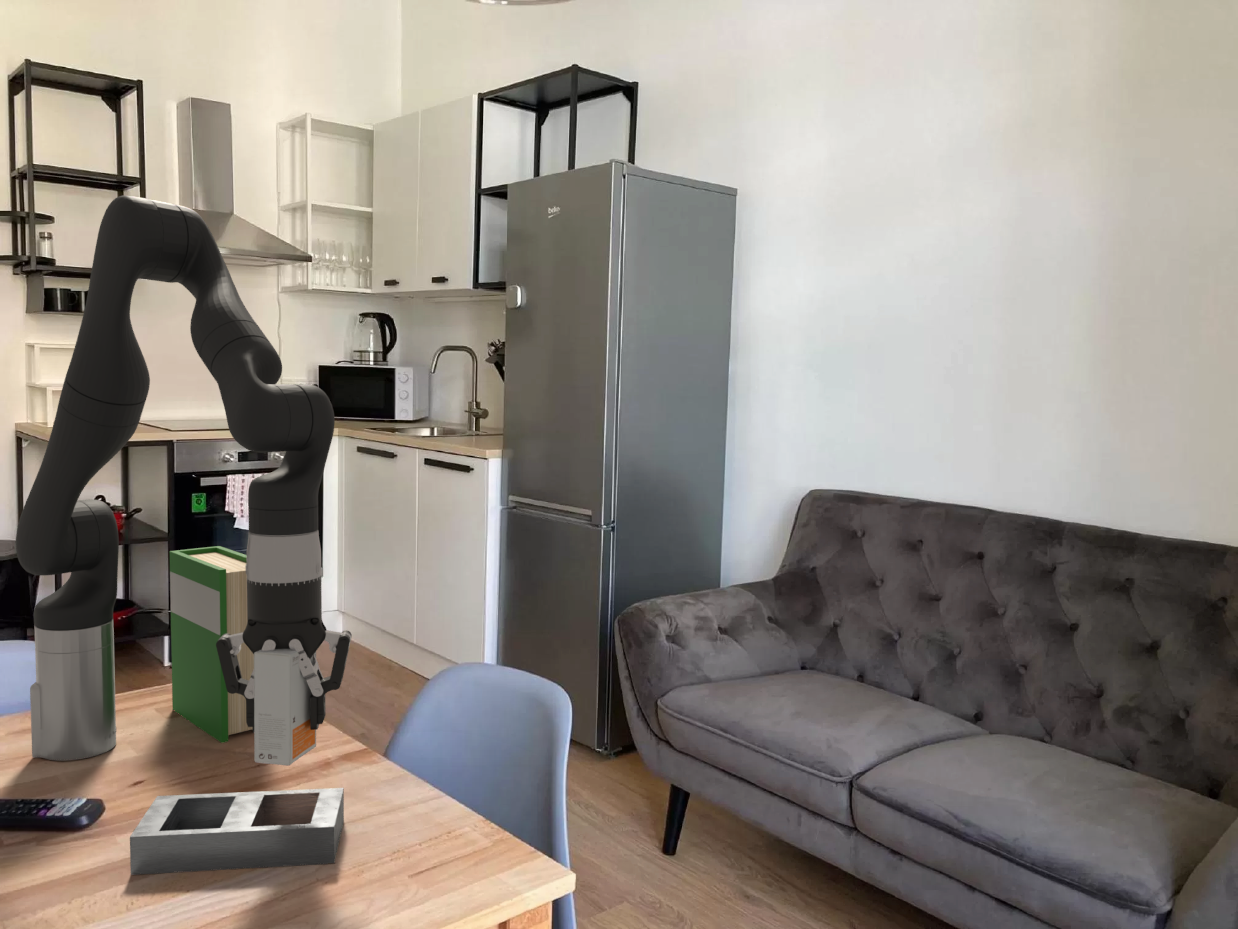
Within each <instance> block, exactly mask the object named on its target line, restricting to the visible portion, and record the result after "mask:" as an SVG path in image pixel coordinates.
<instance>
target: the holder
mask: <svg viewBox="0 0 1238 929" xmlns="http://www.w3.org/2000/svg"><path fill="white" fill-rule="evenodd" d="M344 791H345V790H344V787H333V788H330V787H329V788H314V789H313V788H311V789H310V788H307V789H289V790H288V789H287V790H266V791H265V790H262V791H243V792H241V791H240V792H222V793H221V792H218V793H216V792H215V793H197V794H196V793H195V794H194V793H193V794H178V795H177V794H176V795H175V794H173V795H171V794H170V795H169V794H168V795H157V796H156V797H155V799H154V800H153V801H152V803H151V805H150V806H149V808H148V809H147V811H146V812H145V813H144V815H143V817H142V818H141V819H140V821H139V823H138V824H136V827H135V829H134V830H133V831H132V833H131V834H130V836H129V850H130V851H129V856H130V858H129V859H130V860H129V861H130V862H129V864H130V875H131V876H132V875H136V876H137V875H149V874H150V875H151V874H152V875H154V874H170V873H173V874H174V873H187V872H191V873H192V872H207V871H208V872H209V871H221V870H222V871H226V870H241V869H245V870H246V869H256V868H257V869H261V868H277V867H280V868H281V867H294V866H295V867H296V866H299V867H300V866H315V865H329V864H328V863H334V864H335V861H336V856H337V854H338V849H339V844H340V839H341V836H342V831H343V827H344V823H345V815H344V812H345V809H344V808H345V806H344V805H345V802H344V800H345V799H344V797H345V796H344V795H345V793H344ZM336 853H337V854H336Z"/></svg>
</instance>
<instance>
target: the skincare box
mask: <svg viewBox="0 0 1238 929" xmlns="http://www.w3.org/2000/svg"><path fill="white" fill-rule="evenodd" d="M314 656H315V657H316V658H317V651H316V652H315V653H314ZM310 661H311V663H312V662H313V656H312V657H311V659H310ZM305 667H307V666H305ZM311 694H312V692H311V690H310V688H309V685H308V683H307V681H306V679H305V678H304V677H303V675H302V673H301V670H300V668H299V654H298V652H297V651H291V649H275V650H274V651H265V652H261V650H259V651H257V652H255V653H254V732H253V734H254V736H253V737H254V738H253V739H254V740H253V741H254V743H253V744H254V747H253V749H254V752H253V753H254V755H253V756H254V759H253V760H254V762H255V763H256V764H257V763H259V764H267V765H268V764H269V765H277V766H288V767H289V766H291V765H292V764H293V763H295V762H296V761H297V760H299V759H300V758H302V757H303V756H304V755H306V754H307V753H309V752H310V751H312V750H313V749H315V748H317V730H311V729H310V696H311Z"/></svg>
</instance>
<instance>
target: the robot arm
mask: <svg viewBox="0 0 1238 929" xmlns="http://www.w3.org/2000/svg"><path fill="white" fill-rule="evenodd" d="M89 277H90V278H89V284H88V290H87V296H86V301H85V306H84V310H83V315H82V320H81V323H80V326H79V332H78V334H77V339H76V341H75V345H74V349H73V353H72V355H71V359H70V362H69V366H68V369H67V371H66V374H65V376H64V377H65V378H64V381H63V385H62V388H61V392H60V395H59V396H60V397H59V400H58V404H57V408H56V412H55V417H54V421H53V424H52V428H51V432H50V436H49V438H48V442H47V446H46V450H45V453H44V455H43V458H42V462H41V464H40V466H39V469H38V471H37V474H36V477H35V478H34V479H35V480H34V482H33V484H32V486H31V488H30V492H29V494H28V496H27V499H26V501H25V503H24V506H23V508H22V511H21V513H20V514H21V515H20V517H19V520H18V523H17V524H18V525H17V528H16V536H15V550H16V555H17V560H18V562H19V564H20V566H21V567H22V568H23V569H24V570H25V572H26V573H29V574H31V575H33V576H54V575H62V574H67V573H70V576H69V578H68V580H67V581H66V582H65V583H64V584H63V585H61V587H60V588H59V589H57V590H56V591H54V592H52V593H51V594H49V595H48V596H46V597H44V598H42V599H41V600H39V601H38V602H37V603H36V604H35V607H34V609H33V610H34V611H33V624H34V625H33V626H34V648H35V649H34V650H35V651H34V653H35V654H34V655H35V656H34V657H35V682H34V683H33V684H32V685H30V688H29V693H30V695H29V698H30V727H31V730H30V732H31V758H43V759H45V760H51V761H62V762H63V761H75V760H81V759H82V760H83V759H86V758H92V757H96V756H99V755H102V754H104V753H107V752H109V751H110V750H112V749H113V748H115V746H116V745H117V723H116V722H117V717H116V716H117V715H116V712H117V711H116V679H115V677H116V675H115V673H116V672H115V670H116V669H115V639H114V638H115V635H114V634H115V632H114V609H115V608H114V607H115V604H116V601H117V596H118V575H119V574H118V573H119V551H120V550H119V543H120V541H119V540H120V539H119V530H118V523H117V519H116V516H115V514H114V512H113V510H112V509H111V507H110V506H109V505H108V504H107V503H106V502H104V501H102V500H99V499H82V500H81V499H80V496H81V494H82V492H84V489H85V488H86V486H87V484H88V483H89V482H90V481H91V480H92V479H93V477H95V475H96V474H97V473H98V472H99V471H100V470H101V469H103V468H104V467H105V466H106V464H108V463H109V462H110V461H111V460H112V459H113V458H114V457H115V456H116V455H117V454H118V453H119V452H120V451H121V450H122V448H124V447H125V446H126V444H127V443H128V442H129V441H130V439H132V436H133V435H134V434H135V432H136V431H137V429H138V427H139V426H138V425H139V423H140V420H141V417H142V415H143V411H144V407H145V404H146V401H147V398H148V395H149V391H150V384H151V379H150V371H149V368H148V365H147V362H146V359H145V357H144V355H143V352H142V350H141V346H140V344H139V342H138V339H137V337H136V335H135V332H134V329H133V324H132V321H131V314H130V313H131V303H132V297H133V294H134V293H133V292H134V289H135V285H136V283H137V281H138V279H141V280H148V281H157V282H163V283H171V284H172V283H174V284H175V283H179V284H180V285H182V286H183V287H184V288H185V289H186V290H187V291H188V292H189V293H191V295H192V296H193V297H194V299H195V303H194V306H193V307H194V308H193V310H192V314H191V318H190V326H189V327H190V336H191V341H192V344H193V348H194V349H195V351H196V353H197V354H198V357H199V358H200V359H201V361H202V362H203V364H204V365H205V367H206V369H207V370H208V371H209V373H210V375H211V376H212V378H213V379H214V381H215V382H216V383H217V386H218V389H219V393H220V397H221V400H222V404H223V408H224V411H225V417H226V422H227V427H228V430H229V434H231V436H232V438H233V439H234V440H235V442H237V443H238V444H239V445H240V446H242V448H244V449H247V450H248V451H251V452H252V453H274V452H275V453H277V452H280V453H281V452H285V453H284V456H283V459H282V461H281V463H280V465H279V467H278V468H276V469H275V470H273V471H272V472H269V473H266V474H265V473H264V474H263V475H262V474H261V475H259V476H257V477H256V478H254V479H253V480H252V481H251V482H250V484H249V486H248V491H247V494H248V496H247V507H248V509H247V510H248V536H247V538H248V539H247V545H246V546H247V547H246V555H247V557H246V560H247V563H246V575H247V626H246V628H245V630H244V632H242V633H238V634H233V635H230V634H228V633H226V634H223V635H222V636H221V637H220V638H219V640H218V641H217V643H216V648H217V652H218V656H219V660H220V664H221V668H222V672H223V677H224V681H225V685H226V689H227V691H228V692H229V693H231V694H234V693H238V694H241V695H243V696H244V697H245V699H246V723H247V725H248V727H253V729H252V733H254V669H253V672H252V674H251V677H250V680H246V679H242V675H241V670H240V666H239V662H238V658H237V654H238V653H239V652H240V650H241V644H242V643H245V644H246V645H247V647H248V648H249V649H250V650H251V652H252V653H253V654H254V653H255V652H257V651H259V650H261V652H265V651H274V650H275V649H291V651H297V652H298V654H299V668H300V670H301V673H302V675H303V677H304V678H305V679H306V681H307V683H308V685H309V688H310V690H311V692H312V694H311V696H310V729H311V730H316V731H317V730H319V726H320V725H323V723H324V720H325V718H326V714H327V713H326V711H327V710H326V706H327V705H326V694H327V693H328V692H330V691H337V690H339V689H340V688H341V685H342V682H343V678H344V674H345V669H346V665H347V660H348V655H349V650H350V645H351V641H352V633H351V631H349V630H348V629H347V630H342V631H334V630H327V627H326V626H325V623H324V622H323V617H322V616H323V615H322V613H323V612H322V609H323V608H322V605H323V604H322V548H321V542H320V536H319V535H320V533H319V492H320V491H319V490H320V486H321V483H322V479H323V476H324V471H325V468H326V463H327V459H328V456H329V453H330V448H331V446H332V445H331V444H332V440H333V437H334V431H335V421H336V420H335V411H334V408H333V404H332V402H331V401H330V397H329V396H328V395H327V393H326V392H325V391H324V390H323V389H321V388H320V387H319V386H317V385H315V384H309V383H308V384H307V383H306V384H304V383H297V384H296V383H293V384H292V383H291V384H290V383H288V384H287V383H286V384H285V383H283V384H281V383H278V382H279V381H280V379H281V377H282V373H283V364H282V360H281V358H280V354H278V353H279V352H278V351H277V350H276V348H275V347H274V346H273V345H272V343H271V341H270V340H269V339H268V338H267V336H266V335H265V333H264V332H263V330H262V329H261V328H260V326H259V325H258V324H257V322H256V321H255V320H254V318H253V317H252V315H251V314H250V313H249V311H248V309H247V308H246V306H245V304H244V302H243V301H242V299H241V297H240V295H239V292H238V290H237V288H236V285H235V283H234V280H233V278H232V276H231V273H230V270H229V269H228V266H227V264H226V262H225V260H224V258H223V255H222V253H221V251H220V249H219V246H218V244H217V241H216V240H215V238H214V236H213V233H212V231H211V230H210V228H209V226H208V224H207V223H206V221H205V220H204V218H203V217H202V216H201V215H200V214H199V213H198V212H197V211H196V210H194V209H192V208H189V207H187V206H184V205H179V204H175V203H172V202H165V201H162V200H161V201H160V200H155V199H150V198H145V197H139V196H134V195H119V196H117V197H115V198H113V200H112V201H111V202H110V203H109V204H108V206H107V208H106V209H105V211H104V214H103V216H102V218H101V222H100V226H99V229H98V233H97V239H96V242H95V248H94V254H93V260H92V265H91V272H90V276H89ZM324 641H325V642H327V643H328V645H329V646H328V650H329V651H330V652H332V653H334V657H333V663H332V667H331V673H330V675H329V676H327V677H324V675H323V673H322V671H321V669H320V664H319V662H318V659H317V656H316V657H315V656H314V653H315V652H316V653H317V651H318V649H319V648H320V647H321V645H322V644H323V643H324ZM312 656H313V662H312V663H311V661H310V659H311V657H312ZM305 666H307V667H305Z"/></svg>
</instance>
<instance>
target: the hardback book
mask: <svg viewBox="0 0 1238 929" xmlns="http://www.w3.org/2000/svg"><path fill="white" fill-rule="evenodd" d="M246 557H247V554H246V553H245V554H243V553H242V552H240V551H235V550H232V549H230V548H227V547H224V546H221V545H217V546H207V547H198V548H197V547H196V548H187V549H180V550H179V549H178V550H170V551H169V582H170V583H169V591H170V592H169V593H170V595H169V596H170V635H171V636H170V638H171V640H170V641H171V642H170V643H171V690H172V691H171V697H172V701H171V702H172V711H173V710H175V711H174V712H175V713H176V712H177V713H176V714H178V713H179V714H180V715H179V714H178V715H179V716H181V715H182V716H183V717H182V716H181V717H182V718H184V719H185V718H186V719H185V720H186V721H188V720H189V721H188V722H190V723H191V724H193V725H194V726H196V727H197V728H198V729H200V730H201V731H203V732H205V733H206V734H208V735H209V736H211V737H212V738H214V739H216V741H218V742H219V743H221V744H223V743H227V742H229V736H230V735H235V734H238V733H243V732H247V731H253V727H248V725H247V723H246V699H245V697H244V696H243V695H241V694H238V693H234V694H231V693H229V692H228V691H227V689H226V685H225V681H224V677H223V672H222V668H221V664H220V660H219V656H218V652H217V648H216V643H217V641H218V640H219V638H220V637H221V636H222V635H223V634H226V633H228V634H230V635H233V634H238V633H242V632H244V630H245V628H246V626H247V575H246V563H247V560H246ZM237 658H238V662H239V666H240V670H241V675H242V679H246V680H250V677H251V674H252V672H253V669H254V654H253V653H252V652H251V650H250V649H249V648H248V647H247V645H246V644H245V643H242V644H241V650H240V652H239V653H238V654H237Z"/></svg>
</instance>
